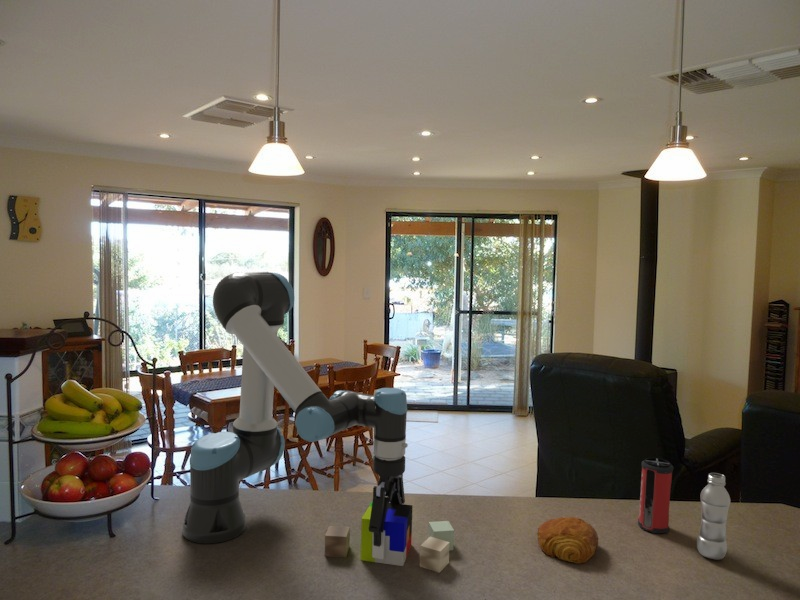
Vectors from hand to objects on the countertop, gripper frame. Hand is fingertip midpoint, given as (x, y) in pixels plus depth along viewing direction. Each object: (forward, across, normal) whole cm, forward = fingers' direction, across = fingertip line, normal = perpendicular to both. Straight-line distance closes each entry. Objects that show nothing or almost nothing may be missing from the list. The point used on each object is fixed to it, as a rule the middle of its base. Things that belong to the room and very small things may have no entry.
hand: (386, 546), depth 138 cm
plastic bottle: (+2, +28, -73) cm, 78 cm away
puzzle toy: (+2, 0, 0) cm, 2 cm away
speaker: (+2, +39, -61) cm, 72 cm away
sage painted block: (+2, +8, -11) cm, 14 cm away
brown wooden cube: (+2, -4, +11) cm, 12 cm away
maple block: (+2, -1, -12) cm, 12 cm away
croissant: (+2, +19, -40) cm, 44 cm away
